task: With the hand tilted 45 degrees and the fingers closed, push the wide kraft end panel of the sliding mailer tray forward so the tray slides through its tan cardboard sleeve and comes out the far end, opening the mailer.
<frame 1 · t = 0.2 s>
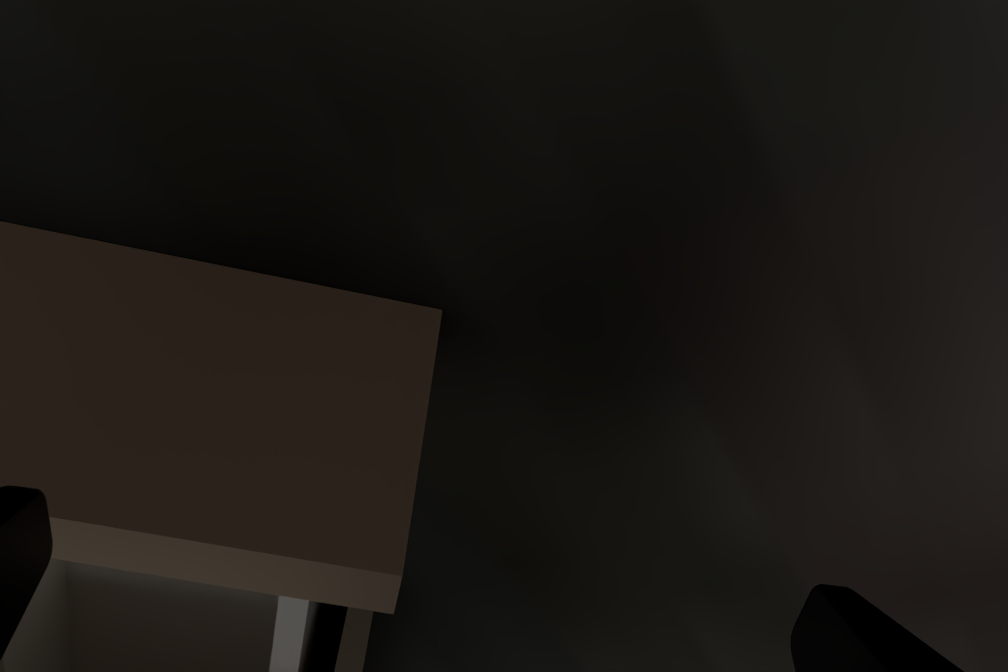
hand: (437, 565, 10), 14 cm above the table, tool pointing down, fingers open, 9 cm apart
sleeve: (189, 574, 30), on the table
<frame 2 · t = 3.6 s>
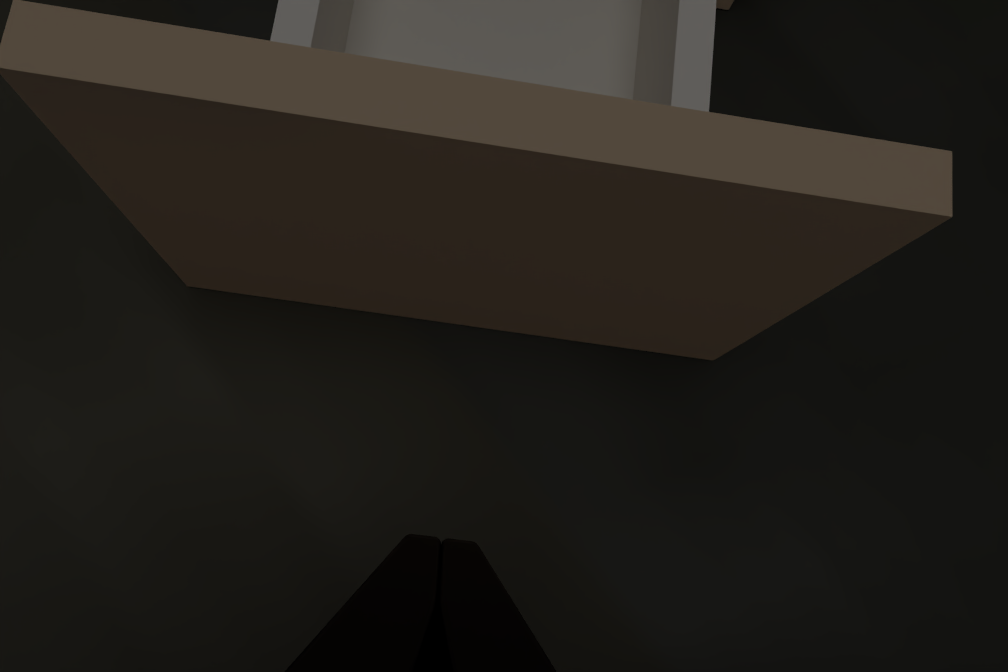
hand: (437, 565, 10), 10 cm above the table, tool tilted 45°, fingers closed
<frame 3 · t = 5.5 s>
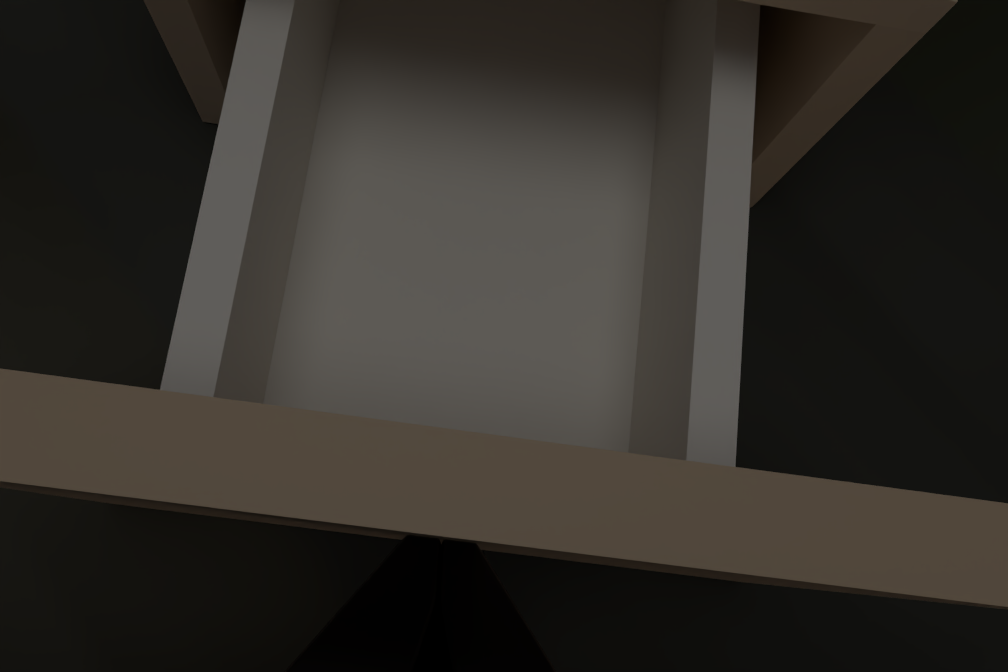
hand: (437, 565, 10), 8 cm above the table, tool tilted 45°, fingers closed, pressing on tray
sleeve: (494, 86, 20), on the table
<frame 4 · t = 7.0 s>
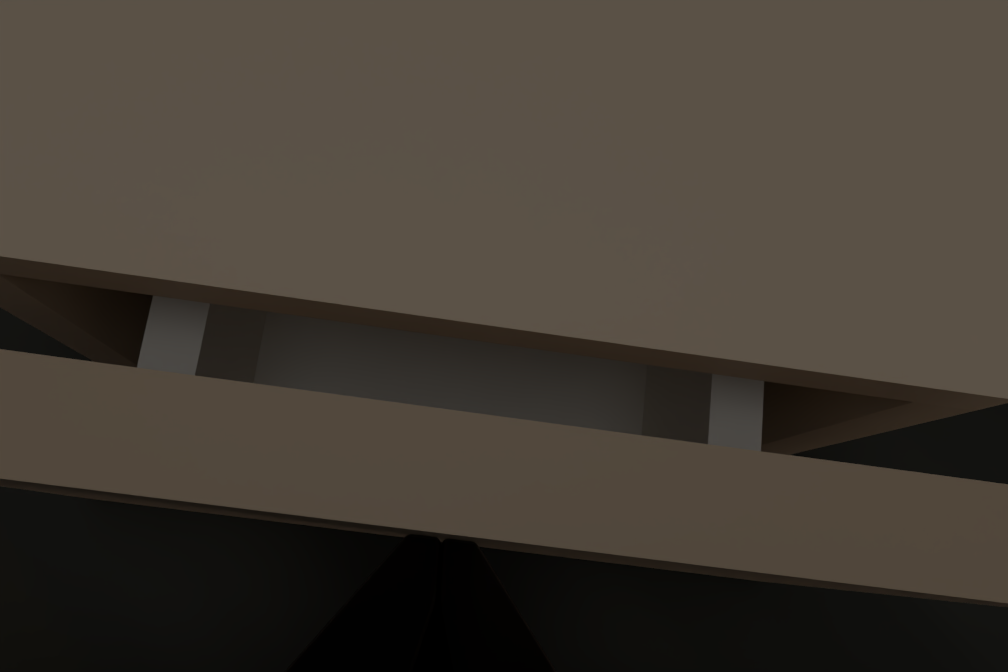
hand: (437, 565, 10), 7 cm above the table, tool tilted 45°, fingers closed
sleeve: (461, 324, 18), on the table
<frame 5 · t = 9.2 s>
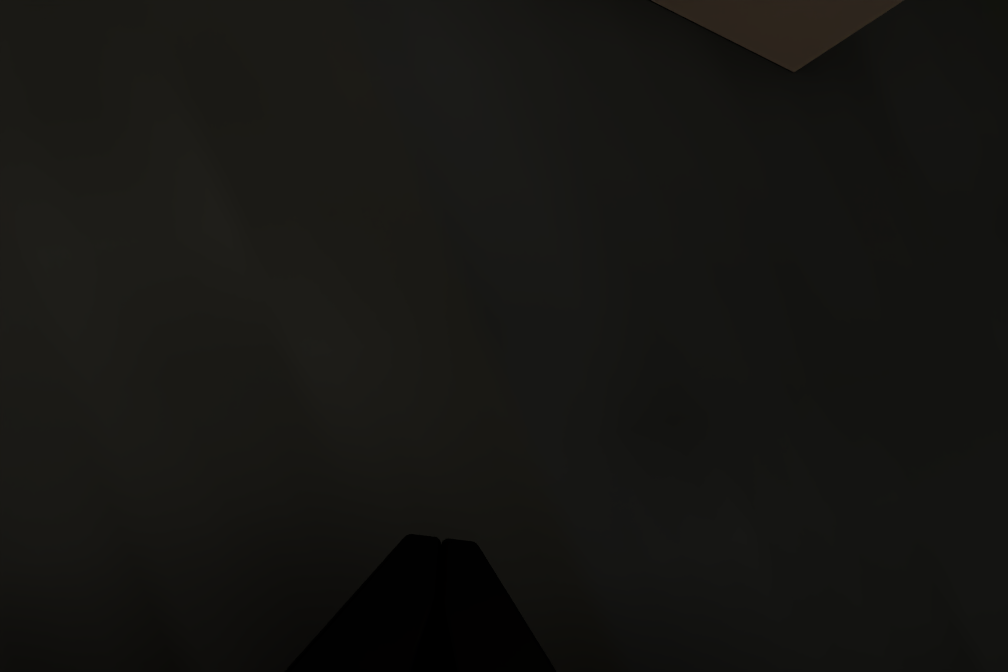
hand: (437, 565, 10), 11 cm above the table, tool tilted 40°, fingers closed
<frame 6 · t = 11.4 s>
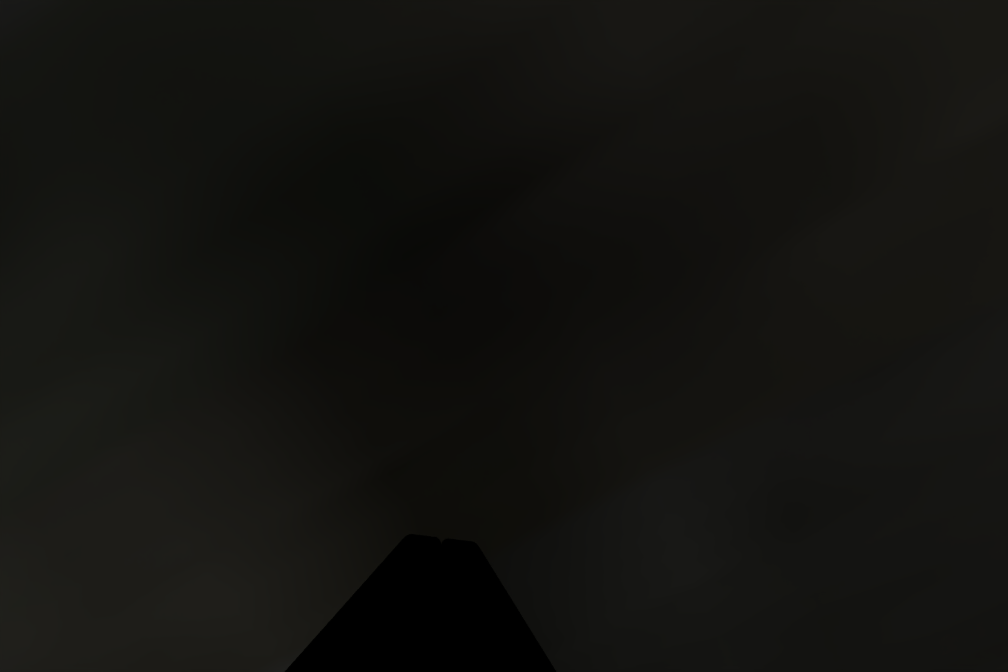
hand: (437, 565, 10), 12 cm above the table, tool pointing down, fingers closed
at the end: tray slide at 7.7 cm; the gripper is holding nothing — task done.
